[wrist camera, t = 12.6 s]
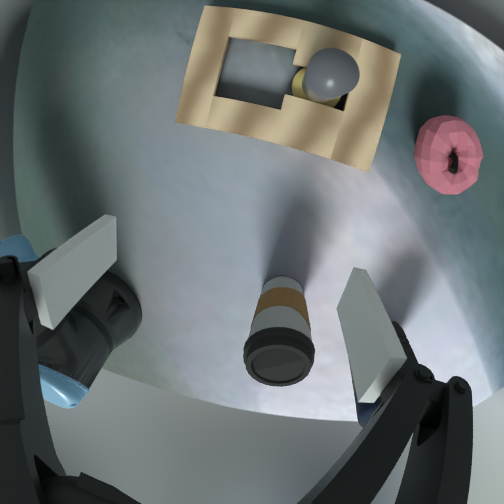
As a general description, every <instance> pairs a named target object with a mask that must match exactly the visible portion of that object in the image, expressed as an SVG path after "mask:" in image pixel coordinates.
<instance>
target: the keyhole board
mask: <svg viewBox="0 0 504 504" xmlns="http://www.w3.org/2000/svg"><path fill="white" fill-rule="evenodd" d="M230 37H232V38H239V39H246V40H252V41H258V42H263V43H268V44H273V45H278V46H282V47H287V48H291V49H295V50H296V54H295V58H294V61H293V65H297V66H301V67H305V68H307V67H308V64H309V61H310V59H311V58H312V56H313V55H314V54H315V53H316V52H318V51H320V50H322V49H325V48H337V49H341V50H343V51H345V52H347V53H348V54H350V55H351V56H352V57H353V58H354V60H355V61H356V63H357V65H358V67H359V71H360V78H359V82H358V84H357V86H356V87H355V88H354V89H353V90H352V91H351V92H349V93H348V94H347V98H346V102H345V105H344V109H343V111H341V110H338V109H335V108H332V107H328V106H325V105H322V104H319V103H315V102H312V101H309V100H305V99H302V98H298V97H294V96H290V95H287V94H285V96H284V99H283V103H282V107H281V110H279V109H274V108H270V107H266V106H262V105H257V104H253V103H248V102H243V101H238V100H233V99H228V98H222V97H216V96H215V93H216V89H217V85H218V81H219V77H220V73H221V69H222V65H223V61H224V58H225V54H226V50H227V46H228V43H229V39H230ZM400 57H401V54H398V53H396V52H394V51H392V50H390V49H387V48H385V47H383V46H380V45H378V44H375V43H373V42H370V41H368V40H365V39H362V38H360V37H357V36H354V35H351V34H348V33H345V32H342V31H339V30H336V29H333V28H330V27H326V26H323V25H319V24H316V23H312V22H308V21H304V20H300V19H296V18H291V17H287V16H282V15H277V14H271V13H266V12H260V11H253V10H246V9H238V8H229V7H217V6H205V7H204V10H203V13H202V16H201V19H200V23H199V26H198V29H197V33H196V36H195V40H194V44H193V47H192V51H191V55H190V59H189V62H188V66H187V70H186V75H185V79H184V83H183V87H182V92H181V96H180V101H179V106H178V111H177V116H176V121H175V123H182V124H188V125H194V126H199V127H205V128H210V129H215V130H220V131H225V132H230V133H235V134H239V135H244V136H248V137H252V138H256V139H261V140H265V141H269V142H273V143H276V144H280V145H284V146H288V147H291V148H295V149H299V150H302V151H306V152H309V153H312V154H316V155H319V156H322V157H325V158H329V159H332V160H335V161H338V162H341V163H344V164H347V165H350V166H353V167H356V168H359V169H361V170H364V171H367V172H369V170H370V167H371V164H372V161H373V158H374V155H375V151H376V148H377V145H378V142H379V138H380V135H381V131H382V128H383V125H384V121H385V117H386V114H387V110H388V106H389V103H390V99H391V95H392V91H393V87H394V83H395V79H396V75H397V70H398V66H399V61H400Z"/></svg>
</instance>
